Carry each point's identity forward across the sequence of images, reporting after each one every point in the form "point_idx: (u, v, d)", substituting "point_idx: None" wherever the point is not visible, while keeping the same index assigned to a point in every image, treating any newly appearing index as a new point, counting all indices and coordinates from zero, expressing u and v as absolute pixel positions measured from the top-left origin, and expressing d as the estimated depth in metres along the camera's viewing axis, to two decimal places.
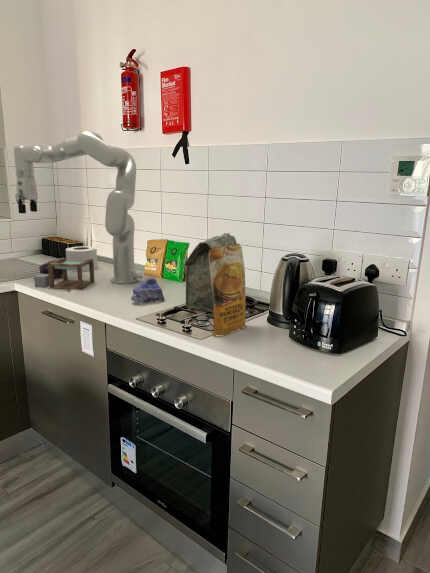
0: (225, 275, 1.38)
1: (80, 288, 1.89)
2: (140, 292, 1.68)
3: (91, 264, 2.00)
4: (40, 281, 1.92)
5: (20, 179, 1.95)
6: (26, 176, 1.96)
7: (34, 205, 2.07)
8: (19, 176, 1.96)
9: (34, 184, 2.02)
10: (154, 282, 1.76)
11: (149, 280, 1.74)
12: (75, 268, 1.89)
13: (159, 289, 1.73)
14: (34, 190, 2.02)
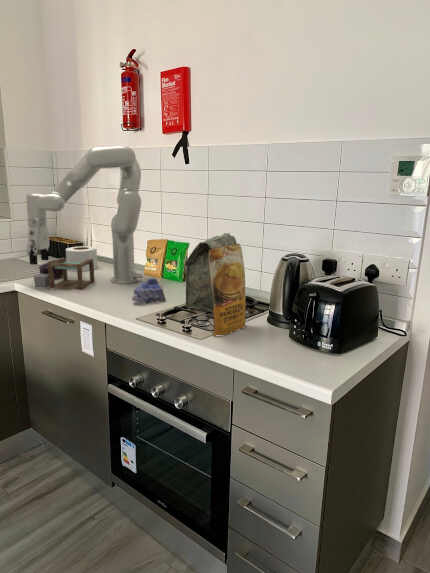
0: (225, 275, 1.38)
1: (80, 288, 1.89)
2: (141, 292, 1.68)
3: (91, 264, 2.00)
4: (40, 281, 1.92)
5: (32, 229, 1.84)
6: (39, 225, 1.85)
7: (45, 254, 1.95)
8: (31, 225, 1.84)
9: (46, 232, 1.91)
10: (155, 282, 1.75)
11: (150, 280, 1.74)
12: (75, 268, 1.89)
13: (160, 289, 1.72)
14: (46, 239, 1.91)
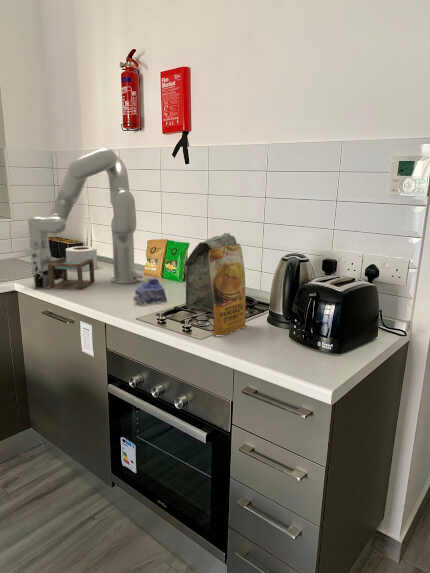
0: (225, 275, 1.38)
1: (80, 288, 1.89)
2: (143, 292, 1.68)
3: (91, 264, 2.00)
4: None
5: (35, 251, 1.86)
6: (41, 248, 1.87)
7: None
8: (34, 248, 1.87)
9: (49, 254, 1.93)
10: (156, 282, 1.75)
11: (151, 280, 1.74)
12: (75, 268, 1.89)
13: (161, 289, 1.72)
14: (49, 260, 1.93)
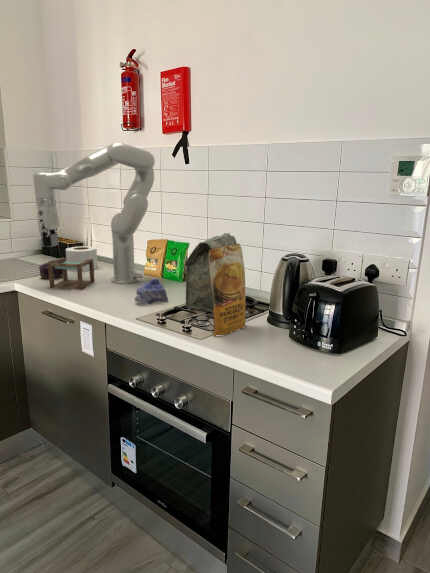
0: (225, 275, 1.38)
1: (80, 288, 1.89)
2: (144, 293, 1.68)
3: (91, 264, 2.00)
4: None
5: (41, 208, 1.82)
6: (47, 205, 1.83)
7: None
8: (40, 205, 1.83)
9: (55, 212, 1.89)
10: (157, 283, 1.75)
11: (152, 281, 1.74)
12: (75, 268, 1.89)
13: (163, 290, 1.72)
14: (55, 218, 1.89)
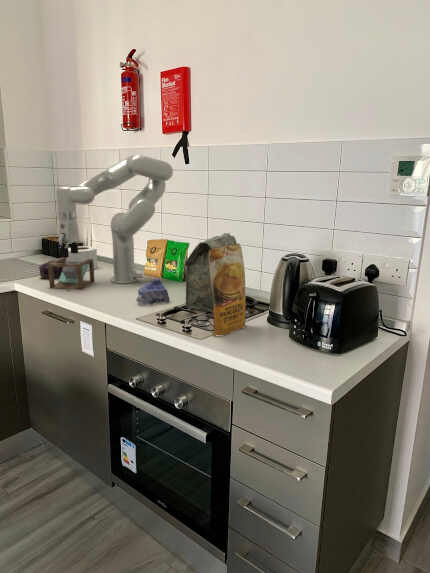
0: (225, 275, 1.38)
1: (80, 288, 1.89)
2: (146, 293, 1.67)
3: (91, 264, 2.00)
4: (69, 274, 1.92)
5: (63, 222, 1.85)
6: (69, 218, 1.86)
7: (75, 247, 1.96)
8: (62, 219, 1.85)
9: (76, 226, 1.92)
10: (159, 283, 1.75)
11: (154, 281, 1.73)
12: None
13: (164, 290, 1.72)
14: (76, 232, 1.92)
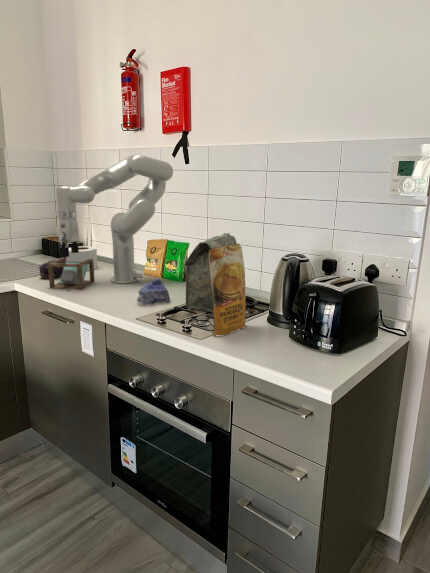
0: (225, 275, 1.38)
1: (80, 288, 1.89)
2: (146, 293, 1.67)
3: (91, 264, 2.00)
4: (68, 282, 1.92)
5: (63, 221, 1.84)
6: (69, 218, 1.86)
7: (75, 246, 1.96)
8: (62, 218, 1.85)
9: (76, 225, 1.92)
10: (159, 283, 1.74)
11: (155, 281, 1.73)
12: None
13: (165, 290, 1.71)
14: (76, 231, 1.92)
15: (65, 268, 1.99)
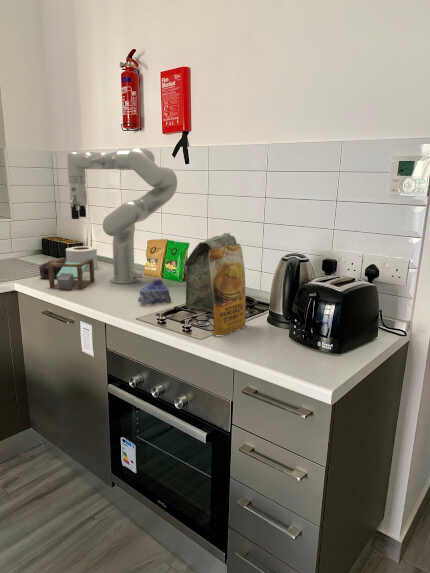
0: (225, 275, 1.38)
1: (80, 288, 1.89)
2: (147, 293, 1.67)
3: (91, 264, 2.00)
4: None
5: (74, 185, 1.96)
6: (79, 182, 1.98)
7: (83, 211, 2.08)
8: (73, 182, 1.97)
9: (85, 190, 2.04)
10: (160, 283, 1.74)
11: (155, 281, 1.73)
12: (77, 278, 1.91)
13: (166, 290, 1.71)
14: (85, 196, 2.04)
15: None
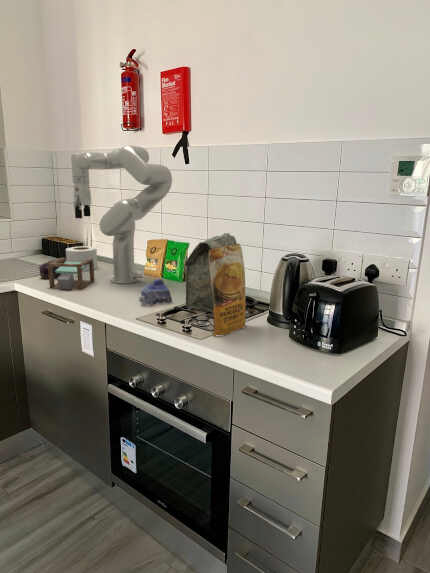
0: (225, 275, 1.38)
1: (80, 288, 1.89)
2: (149, 293, 1.67)
3: (91, 264, 2.00)
4: None
5: (77, 185, 2.01)
6: (83, 182, 2.02)
7: (88, 210, 2.13)
8: (76, 182, 2.02)
9: (89, 190, 2.08)
10: (161, 283, 1.74)
11: (156, 281, 1.73)
12: (75, 272, 1.90)
13: (167, 290, 1.71)
14: (89, 195, 2.09)
15: None
